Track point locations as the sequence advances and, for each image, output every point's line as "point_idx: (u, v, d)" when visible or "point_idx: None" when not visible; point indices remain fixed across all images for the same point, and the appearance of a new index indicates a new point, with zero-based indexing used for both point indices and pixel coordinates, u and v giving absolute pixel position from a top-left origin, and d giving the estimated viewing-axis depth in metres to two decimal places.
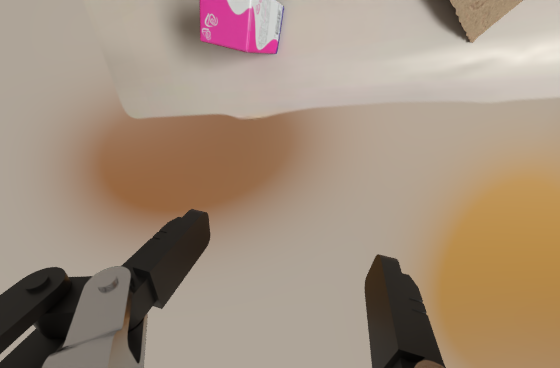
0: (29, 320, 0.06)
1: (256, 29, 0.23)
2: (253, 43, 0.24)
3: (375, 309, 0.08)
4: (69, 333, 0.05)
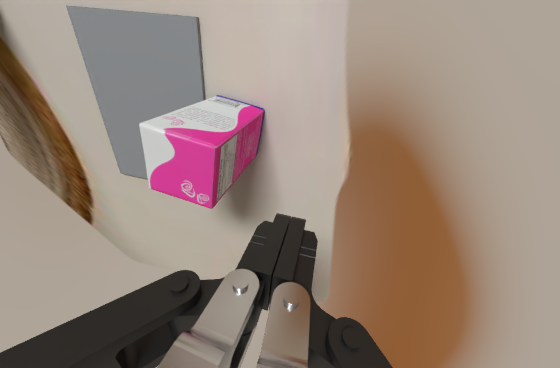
0: (158, 322, 0.06)
1: (200, 128, 0.16)
2: (214, 135, 0.15)
3: None
4: (200, 317, 0.06)
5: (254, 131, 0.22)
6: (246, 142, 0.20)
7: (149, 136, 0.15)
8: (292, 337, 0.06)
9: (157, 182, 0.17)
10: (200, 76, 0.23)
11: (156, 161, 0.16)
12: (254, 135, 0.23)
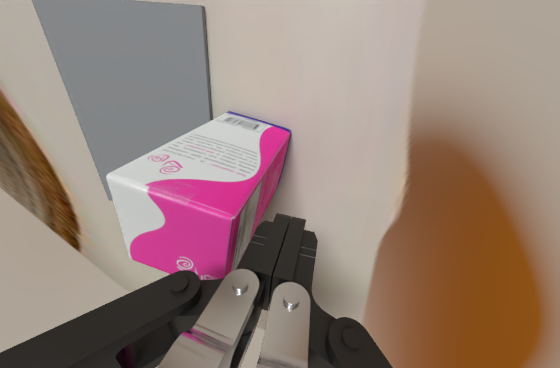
0: (159, 322, 0.06)
1: (206, 176, 0.10)
2: (228, 189, 0.10)
3: None
4: (201, 317, 0.06)
5: (279, 162, 0.16)
6: (270, 181, 0.15)
7: (123, 194, 0.09)
8: (292, 337, 0.06)
9: (140, 253, 0.11)
10: (206, 86, 0.17)
11: (137, 227, 0.10)
12: (278, 167, 0.17)
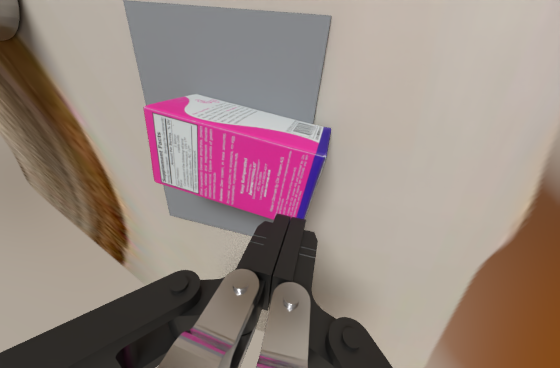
0: (159, 322, 0.06)
1: (191, 105, 0.15)
2: (174, 108, 0.14)
3: None
4: (200, 317, 0.06)
5: (269, 166, 0.13)
6: (235, 163, 0.13)
7: None
8: (292, 337, 0.06)
9: None
10: (315, 102, 0.16)
11: None
12: (271, 175, 0.13)
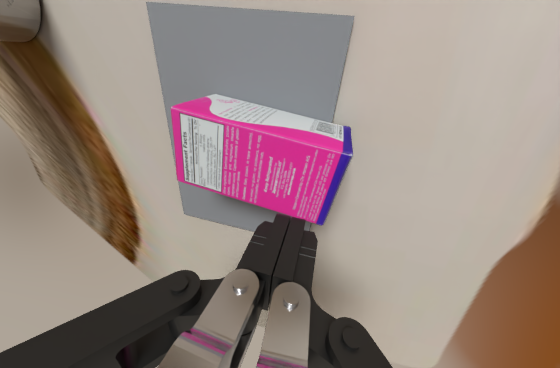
0: (159, 322, 0.06)
1: (215, 105, 0.15)
2: (200, 108, 0.14)
3: None
4: (200, 317, 0.06)
5: (294, 165, 0.13)
6: (260, 162, 0.14)
7: None
8: (292, 337, 0.06)
9: None
10: (335, 101, 0.16)
11: None
12: (296, 174, 0.13)
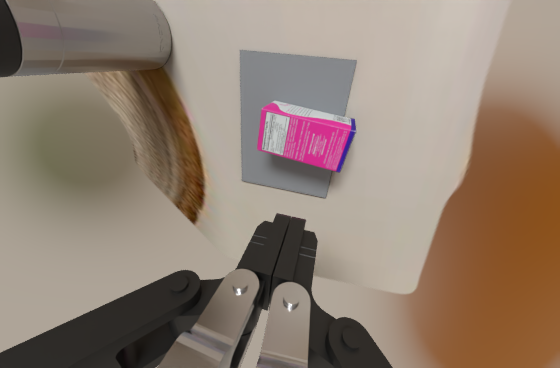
0: (158, 322, 0.06)
1: (281, 107, 0.27)
2: (275, 108, 0.26)
3: None
4: (200, 317, 0.06)
5: (326, 137, 0.26)
6: (307, 136, 0.26)
7: None
8: (292, 337, 0.06)
9: None
10: (345, 104, 0.29)
11: None
12: (327, 142, 0.26)
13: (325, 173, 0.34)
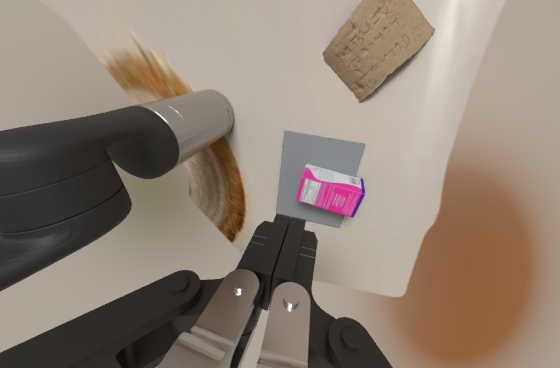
0: (158, 322, 0.06)
1: (313, 173, 0.40)
2: (311, 176, 0.39)
3: None
4: (200, 317, 0.06)
5: (345, 196, 0.39)
6: (332, 195, 0.39)
7: None
8: (292, 337, 0.06)
9: None
10: (357, 169, 0.42)
11: None
12: (345, 199, 0.39)
13: None
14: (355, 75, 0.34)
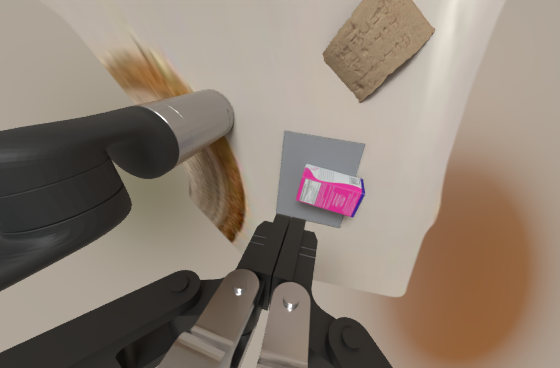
0: (159, 322, 0.06)
1: (313, 173, 0.40)
2: (311, 175, 0.39)
3: None
4: (200, 317, 0.06)
5: (345, 196, 0.39)
6: (332, 195, 0.39)
7: None
8: (292, 337, 0.06)
9: None
10: (357, 169, 0.42)
11: None
12: (345, 199, 0.39)
13: None
14: (355, 75, 0.34)
